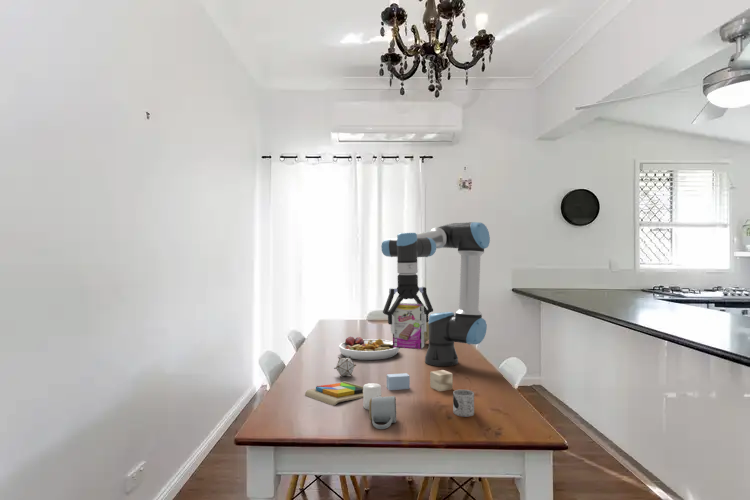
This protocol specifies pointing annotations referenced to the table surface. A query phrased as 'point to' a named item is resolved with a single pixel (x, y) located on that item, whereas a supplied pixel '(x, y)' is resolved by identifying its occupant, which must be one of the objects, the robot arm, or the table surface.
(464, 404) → the mug
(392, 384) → the blue brick
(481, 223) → the robot arm
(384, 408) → the ceramic mug
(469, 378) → the table surface
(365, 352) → the bowl
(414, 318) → the candy bar box
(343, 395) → the wooden puzzle
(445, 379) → the oak cube
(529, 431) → the table surface
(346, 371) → the game die
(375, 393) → the white cylinder
